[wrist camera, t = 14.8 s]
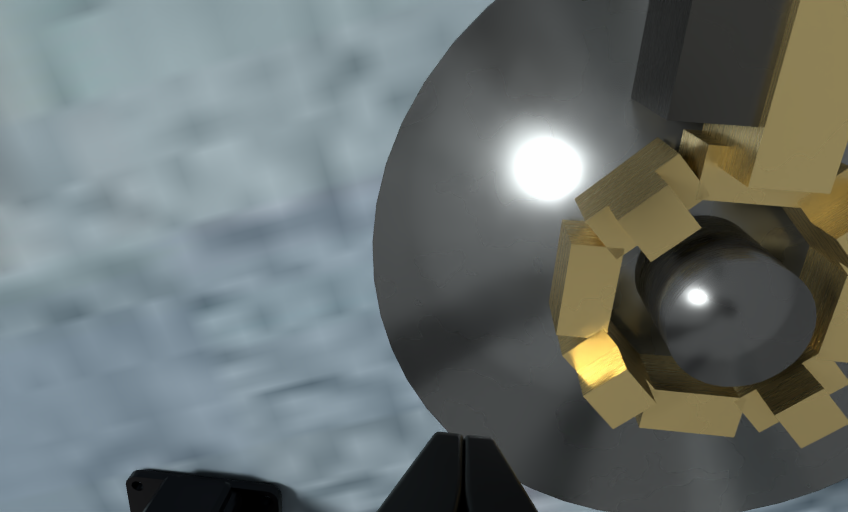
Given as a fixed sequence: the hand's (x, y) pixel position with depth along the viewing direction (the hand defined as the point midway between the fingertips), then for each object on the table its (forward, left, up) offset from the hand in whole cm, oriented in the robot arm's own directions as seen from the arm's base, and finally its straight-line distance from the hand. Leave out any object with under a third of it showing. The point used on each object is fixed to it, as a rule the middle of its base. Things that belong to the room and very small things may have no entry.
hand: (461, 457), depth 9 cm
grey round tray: (-1, -7, -12) cm, 14 cm away
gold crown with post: (+2, -7, -10) cm, 13 cm away
